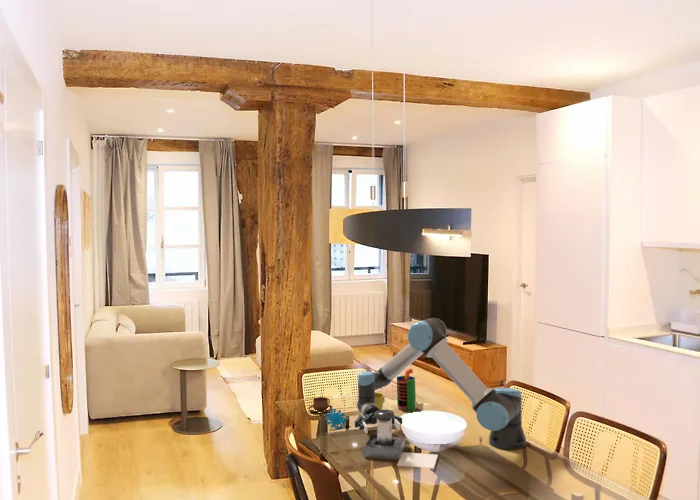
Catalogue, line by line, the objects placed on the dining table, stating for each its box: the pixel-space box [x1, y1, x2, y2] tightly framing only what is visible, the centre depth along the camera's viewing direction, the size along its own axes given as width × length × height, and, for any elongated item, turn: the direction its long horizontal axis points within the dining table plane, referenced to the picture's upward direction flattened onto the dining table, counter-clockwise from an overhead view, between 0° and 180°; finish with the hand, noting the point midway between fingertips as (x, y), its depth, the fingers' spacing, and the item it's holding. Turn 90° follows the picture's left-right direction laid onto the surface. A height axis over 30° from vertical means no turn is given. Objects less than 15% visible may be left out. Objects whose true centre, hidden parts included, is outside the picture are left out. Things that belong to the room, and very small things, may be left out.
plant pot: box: [375, 392, 385, 410], centre depth 300 cm, size 10×10×10 cm
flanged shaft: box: [374, 409, 395, 446], centre depth 247 cm, size 8×8×16 cm
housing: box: [363, 434, 406, 461], centre depth 247 cm, size 14×14×5 cm
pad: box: [396, 451, 439, 472], centre depth 238 cm, size 14×14×1 cm
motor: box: [396, 368, 417, 413], centre depth 309 cm, size 10×9×20 cm
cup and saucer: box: [308, 396, 334, 413], centre depth 309 cm, size 12×12×6 cm
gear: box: [325, 408, 349, 430], centre depth 285 cm, size 11×6×10 cm
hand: (383, 428), depth 247 cm, fingers open, 13 cm apart
